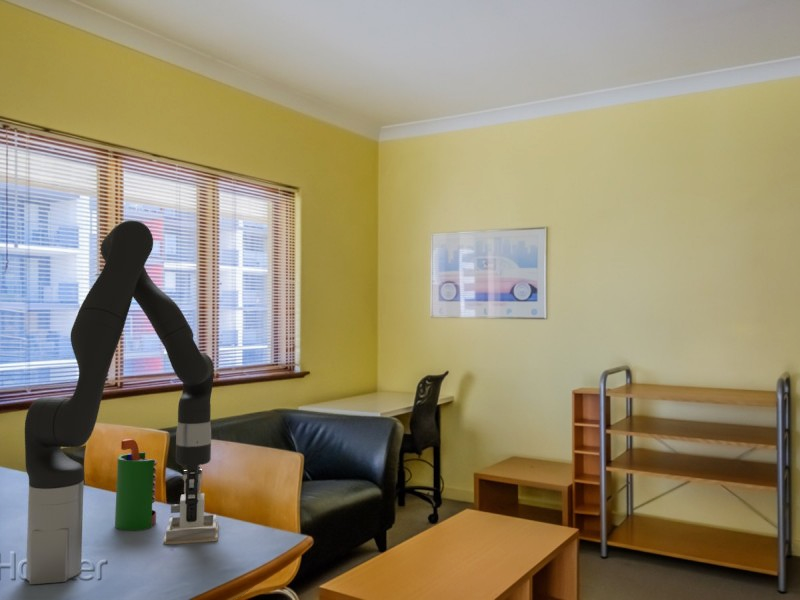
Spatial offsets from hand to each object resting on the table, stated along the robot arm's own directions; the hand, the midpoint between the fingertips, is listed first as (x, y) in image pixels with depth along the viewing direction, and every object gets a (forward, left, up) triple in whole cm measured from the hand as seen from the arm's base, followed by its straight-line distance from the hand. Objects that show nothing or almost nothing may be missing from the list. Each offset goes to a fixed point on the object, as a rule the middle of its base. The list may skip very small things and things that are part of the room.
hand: (191, 517), depth 147 cm
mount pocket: (0, 0, -4) cm, 4 cm away
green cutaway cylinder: (+10, +13, -4) cm, 17 cm away
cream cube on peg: (0, 0, -1) cm, 1 cm away
